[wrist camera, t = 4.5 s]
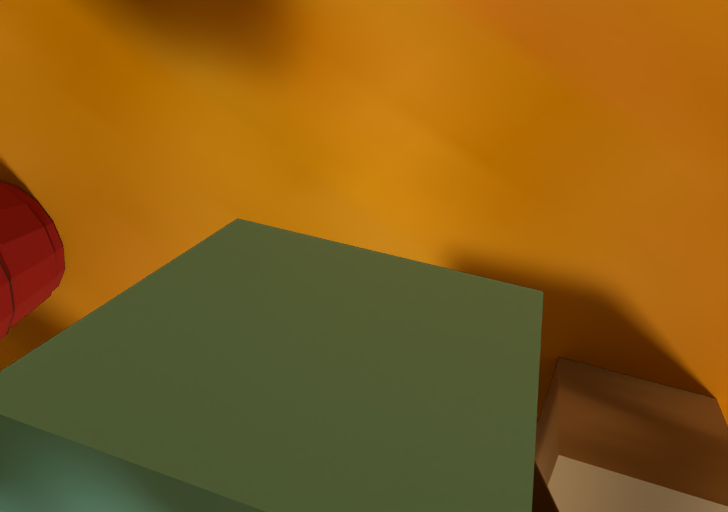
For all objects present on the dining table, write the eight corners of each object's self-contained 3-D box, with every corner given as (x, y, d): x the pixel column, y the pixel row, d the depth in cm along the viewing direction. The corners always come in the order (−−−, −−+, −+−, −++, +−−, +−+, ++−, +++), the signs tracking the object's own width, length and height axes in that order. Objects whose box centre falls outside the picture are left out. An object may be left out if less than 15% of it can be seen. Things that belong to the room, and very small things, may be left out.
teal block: (232, 444, 12) (33, 710, 7) (237, 218, 9) (-42, 397, 5) (475, 527, 10) (415, 903, 6) (543, 291, 8) (526, 606, 4)
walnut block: (524, 462, 22) (515, 575, 17) (558, 355, 20) (558, 454, 15) (663, 505, 21) (690, 638, 16) (715, 397, 18) (763, 517, 14)
